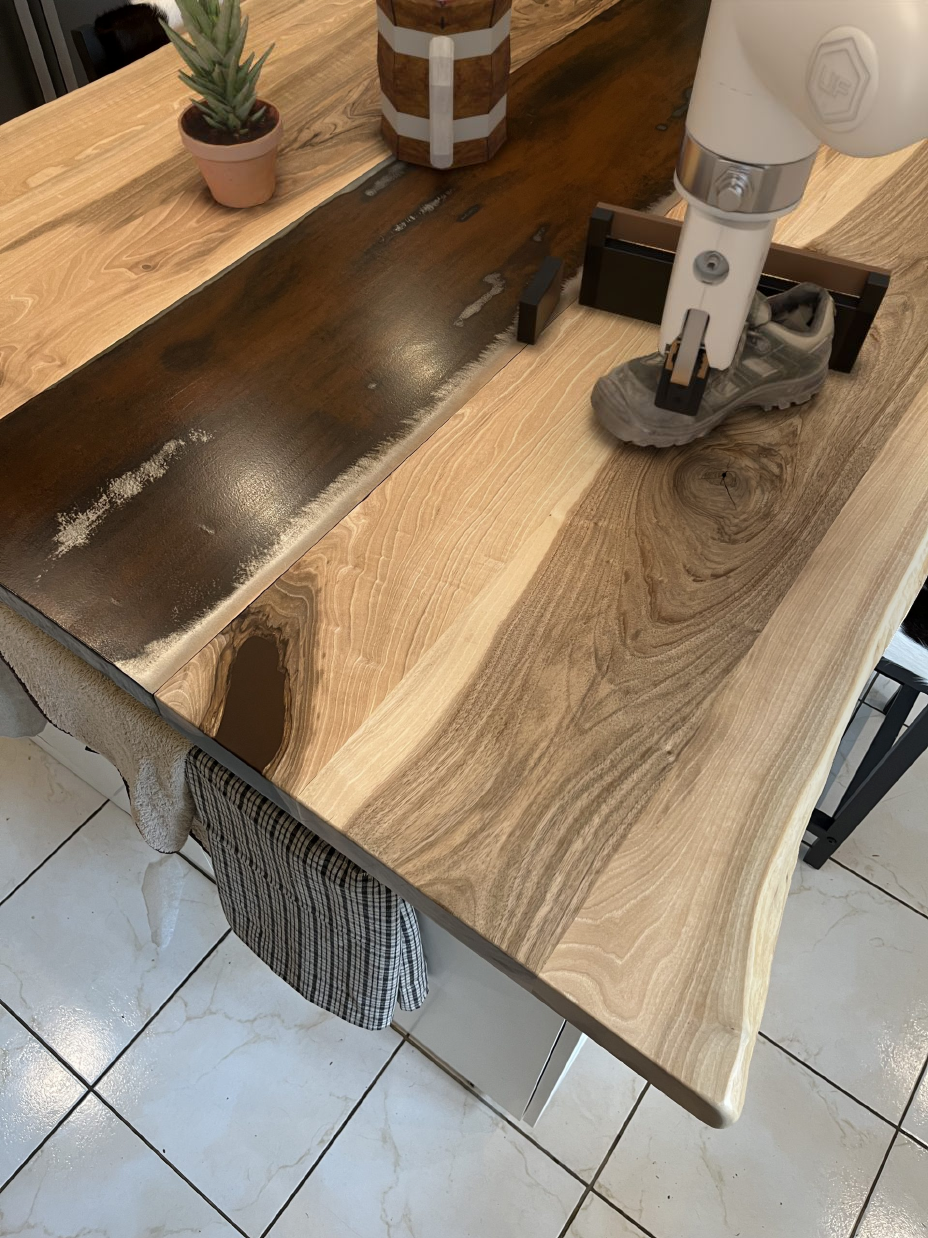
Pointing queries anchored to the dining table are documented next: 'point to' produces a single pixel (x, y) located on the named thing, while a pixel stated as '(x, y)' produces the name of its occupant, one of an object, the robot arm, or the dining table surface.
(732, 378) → the hiking shoe
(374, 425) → the dining table surface
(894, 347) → the dining table surface
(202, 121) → the potted plant
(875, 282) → the shoe rack
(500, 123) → the mug
